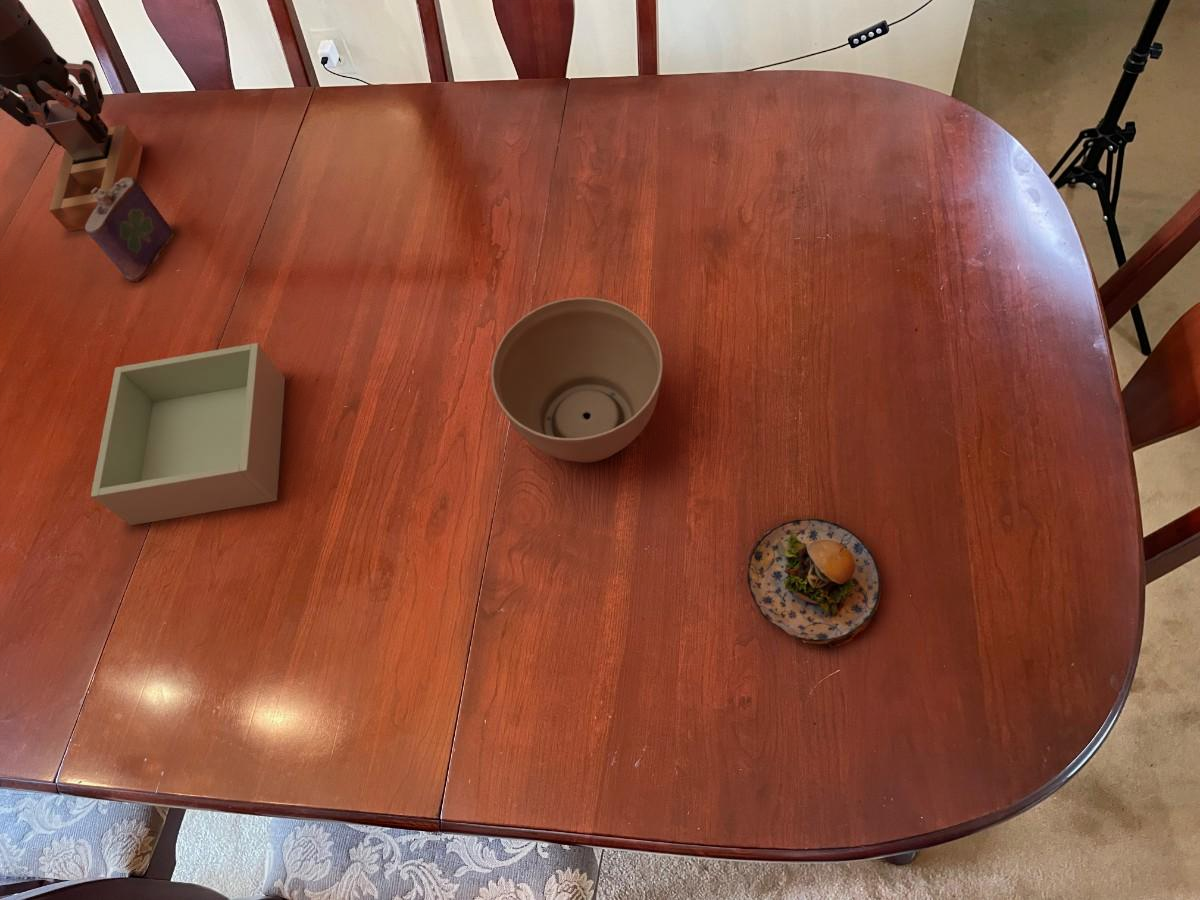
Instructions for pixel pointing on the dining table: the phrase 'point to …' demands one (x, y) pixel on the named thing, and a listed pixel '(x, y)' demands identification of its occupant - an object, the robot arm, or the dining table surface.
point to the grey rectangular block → (76, 135)
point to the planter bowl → (578, 377)
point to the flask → (128, 228)
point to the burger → (815, 581)
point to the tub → (191, 435)
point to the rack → (93, 178)
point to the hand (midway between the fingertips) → (87, 141)
